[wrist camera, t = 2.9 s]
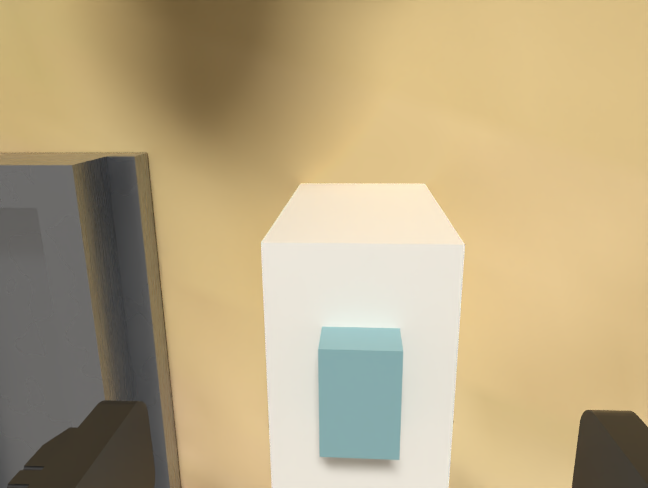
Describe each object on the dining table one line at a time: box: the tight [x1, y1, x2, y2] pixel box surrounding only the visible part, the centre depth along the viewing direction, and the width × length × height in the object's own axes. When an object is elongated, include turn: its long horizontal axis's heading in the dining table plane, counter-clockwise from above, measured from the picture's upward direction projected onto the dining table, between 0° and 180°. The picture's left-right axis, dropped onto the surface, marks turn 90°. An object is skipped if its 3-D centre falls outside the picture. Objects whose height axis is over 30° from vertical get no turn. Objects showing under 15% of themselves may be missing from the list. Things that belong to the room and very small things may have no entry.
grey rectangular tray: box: [0, 153, 181, 488], centre depth 19 cm, size 22×10×3 cm, turn 1°
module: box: [261, 183, 465, 488], centre depth 14 cm, size 6×4×8 cm, turn 1°
